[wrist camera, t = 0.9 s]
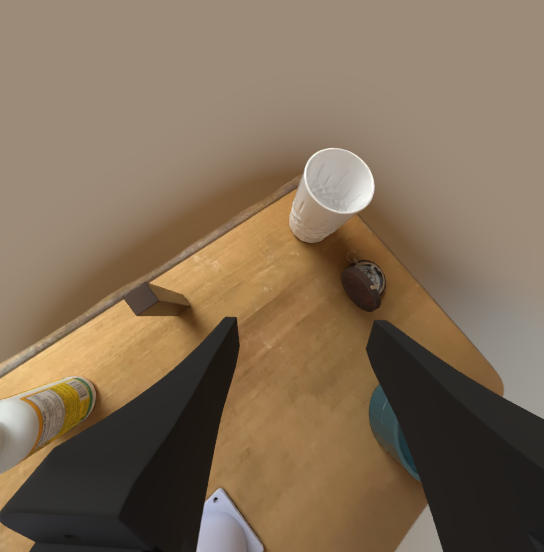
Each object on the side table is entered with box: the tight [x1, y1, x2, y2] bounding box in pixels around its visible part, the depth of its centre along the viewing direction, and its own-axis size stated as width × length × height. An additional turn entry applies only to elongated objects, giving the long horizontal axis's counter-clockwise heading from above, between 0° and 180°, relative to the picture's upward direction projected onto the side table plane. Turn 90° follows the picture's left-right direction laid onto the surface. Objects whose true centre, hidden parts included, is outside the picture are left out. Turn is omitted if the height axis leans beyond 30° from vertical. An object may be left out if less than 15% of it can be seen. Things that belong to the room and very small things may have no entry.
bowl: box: [369, 384, 421, 482], centre depth 24 cm, size 10×10×4 cm
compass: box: [341, 251, 386, 312], centre depth 26 cm, size 8×8×7 cm
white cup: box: [289, 148, 375, 243], centre depth 25 cm, size 8×8×10 cm
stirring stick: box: [123, 282, 191, 316], centre depth 20 cm, size 2×2×10 cm
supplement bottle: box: [0, 376, 96, 474], centre depth 17 cm, size 5×5×10 cm
